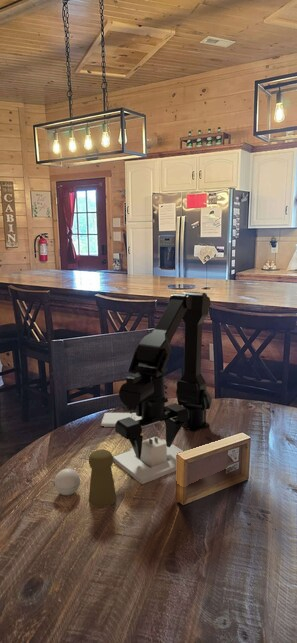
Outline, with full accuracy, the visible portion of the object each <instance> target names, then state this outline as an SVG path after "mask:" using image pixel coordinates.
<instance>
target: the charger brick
mask: <svg viewBox="0 0 297 643" xmlns="http://www.w3.org/2000/svg"><path fill="white" fill-rule="evenodd" d="M141 460H142V461H143V462H145V463H146V464H147V465H149V466H150V467H154V466H157V465H159V464H162V463H165V462H167V443H165V442H164V441H162V439H160V438H159V437H157V436H153V437H150V438H147V439H144V440H143V441H142V451H141Z"/></svg>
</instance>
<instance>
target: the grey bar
mask: <svg viewBox="0 0 297 643" xmlns="http://www.w3.org/2000/svg"><path fill="white" fill-rule="evenodd" d="M131 450H134V449H133V447H131V448H129V449H128V450H127V451H124V452H121V453H118V454H115V455H112V456H113V457H114V456H117V455H119V454H122V453H125V452H128V451H131Z"/></svg>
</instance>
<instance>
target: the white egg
mask: <svg viewBox="0 0 297 643" xmlns="http://www.w3.org/2000/svg"><path fill="white" fill-rule="evenodd" d="M80 484H81V478H80V475H79V474H78V472H77V471H76V470H74V469H73V468H63V469H61V470H60V471H59V472H58V473H56V476H55V477H54V482H53V486H54V488H55V489H56V491H57V493H59V495H60V494H61V495H62V496H71V495H73V494H74V493H76V492H77V491H78V489H79V488H80Z"/></svg>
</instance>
